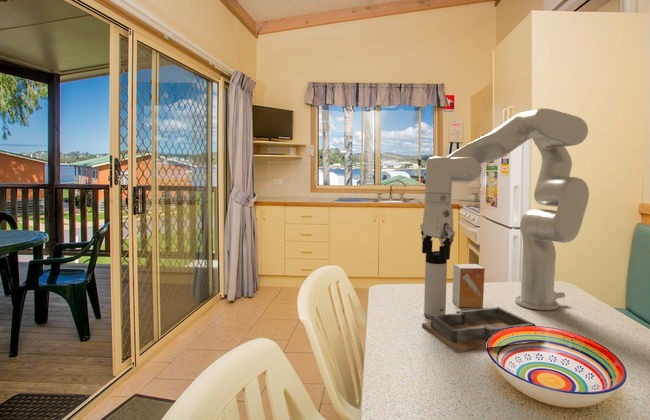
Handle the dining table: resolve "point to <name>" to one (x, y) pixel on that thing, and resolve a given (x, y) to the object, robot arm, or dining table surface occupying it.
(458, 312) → the keyhole cradle
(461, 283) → the small box
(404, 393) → the dining table surface
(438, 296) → the travel mug
